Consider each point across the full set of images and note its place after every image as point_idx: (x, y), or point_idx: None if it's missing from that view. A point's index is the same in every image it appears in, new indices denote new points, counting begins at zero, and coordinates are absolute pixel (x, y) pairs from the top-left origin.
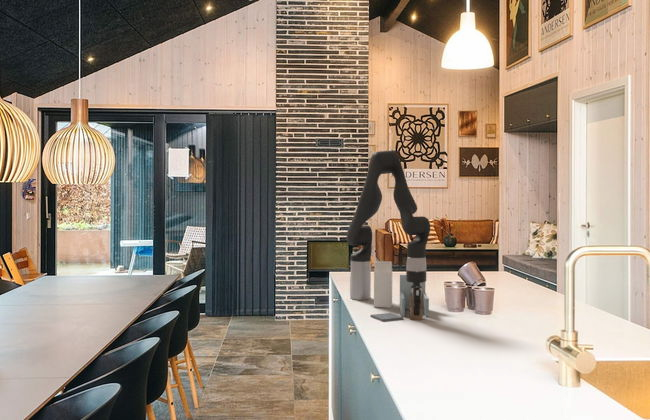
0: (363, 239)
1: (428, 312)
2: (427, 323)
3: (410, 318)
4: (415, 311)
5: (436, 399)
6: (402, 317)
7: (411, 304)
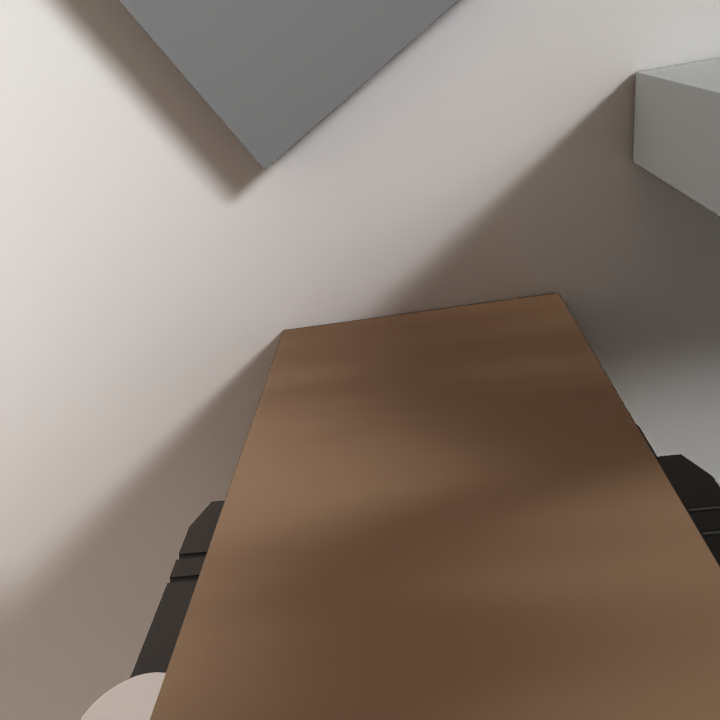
0: None
1: None
2: (96, 600)
3: (286, 342)
4: (183, 567)
5: None
6: (254, 153)
7: (196, 639)
